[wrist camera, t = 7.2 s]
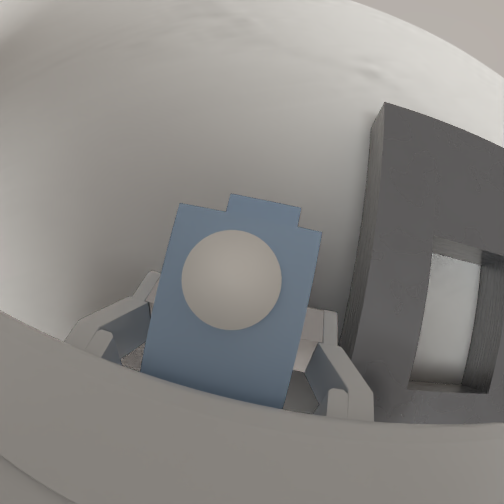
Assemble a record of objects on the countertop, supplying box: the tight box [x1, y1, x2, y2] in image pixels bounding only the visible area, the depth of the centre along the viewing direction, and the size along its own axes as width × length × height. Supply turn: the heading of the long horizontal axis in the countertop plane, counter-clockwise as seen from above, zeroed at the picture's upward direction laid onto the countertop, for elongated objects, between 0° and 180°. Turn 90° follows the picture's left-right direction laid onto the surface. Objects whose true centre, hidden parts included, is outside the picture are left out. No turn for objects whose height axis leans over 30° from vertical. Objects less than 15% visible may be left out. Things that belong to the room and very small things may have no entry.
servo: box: [140, 194, 322, 409], centre depth 12 cm, size 4×10×9 cm, turn 167°
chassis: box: [339, 102, 504, 424], centre depth 15 cm, size 12×22×3 cm, turn 167°
